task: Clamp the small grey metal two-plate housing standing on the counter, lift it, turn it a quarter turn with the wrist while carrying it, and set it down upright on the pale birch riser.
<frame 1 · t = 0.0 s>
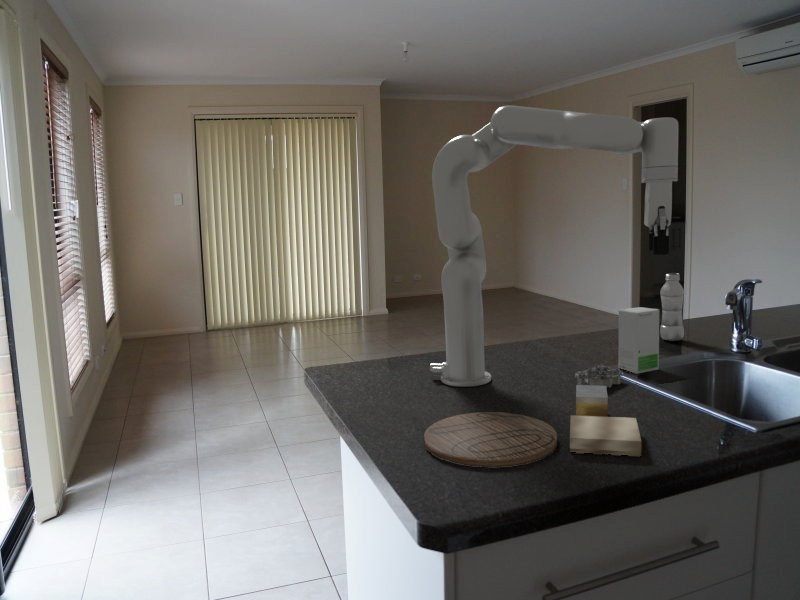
hand: (658, 252, 150), 31 cm above the countertop, tool pointing down, fingers open, 9 cm apart
trivet: (490, 444, 126), on the countertop
plastic bottle: (671, 341, 197), on the countertop
egg carton: (598, 385, 158), on the countertop
skincare box: (638, 370, 169), on the countertop
housing: (591, 419, 135), on the countertop
riser: (603, 443, 122), on the countertop
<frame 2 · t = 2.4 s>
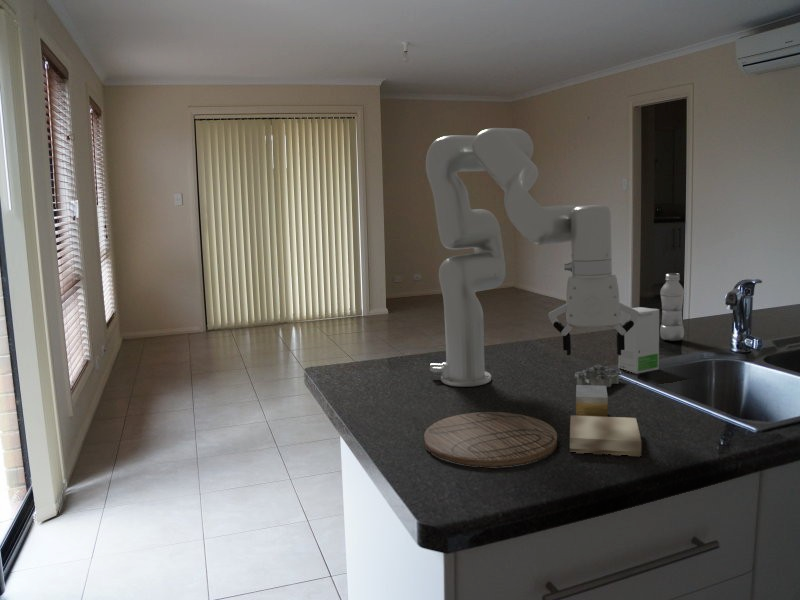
hand: (593, 353, 132), 14 cm above the countertop, tool pointing down, fingers open, 9 cm apart
nothing on the countertop moved.
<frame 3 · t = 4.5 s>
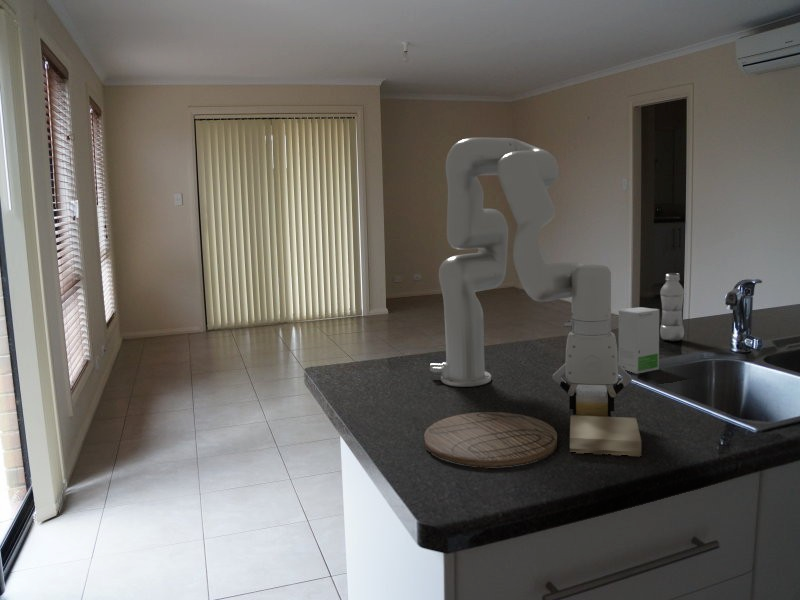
hand: (591, 412, 135), 1 cm above the countertop, tool pointing down, fingers closed on housing, 6 cm apart
housing: (591, 418, 135), on the countertop, touching gripper
everything else where it was.
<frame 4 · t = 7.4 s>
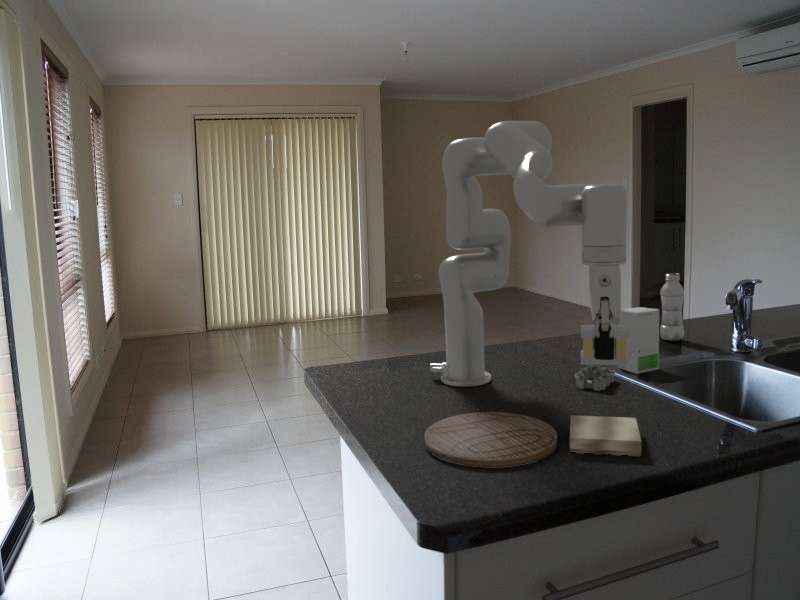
hand: (603, 353, 120), 17 cm above the countertop, tool pointing down, fingers closed on housing, 6 cm apart
housing: (603, 360, 120), point 16 cm above the countertop, touching gripper
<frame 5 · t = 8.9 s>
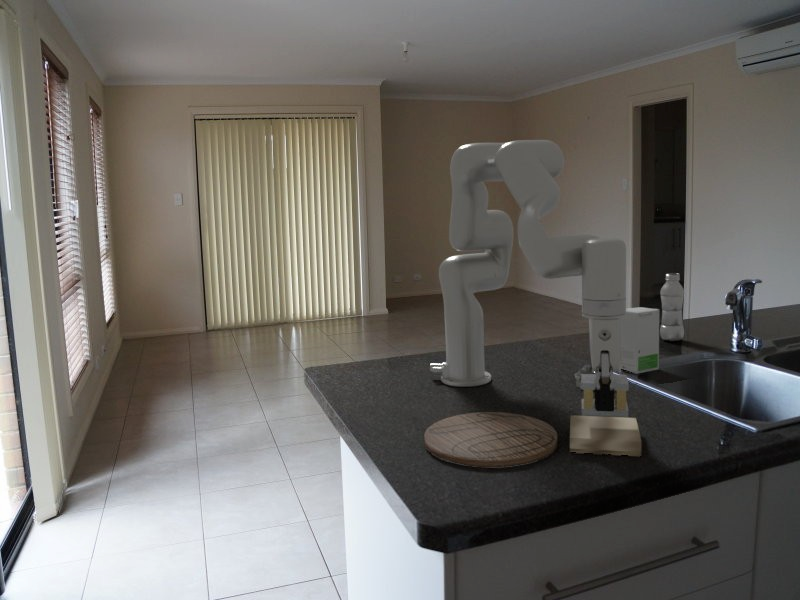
hand: (604, 403, 121), 8 cm above the countertop, tool pointing down, fingers closed on housing, 6 cm apart
housing: (604, 410, 121), point 6 cm above the countertop, touching gripper
when the fingers open (5 cm above the countertop, at t = 10.3 s): housing stays where it is, resting on riser.
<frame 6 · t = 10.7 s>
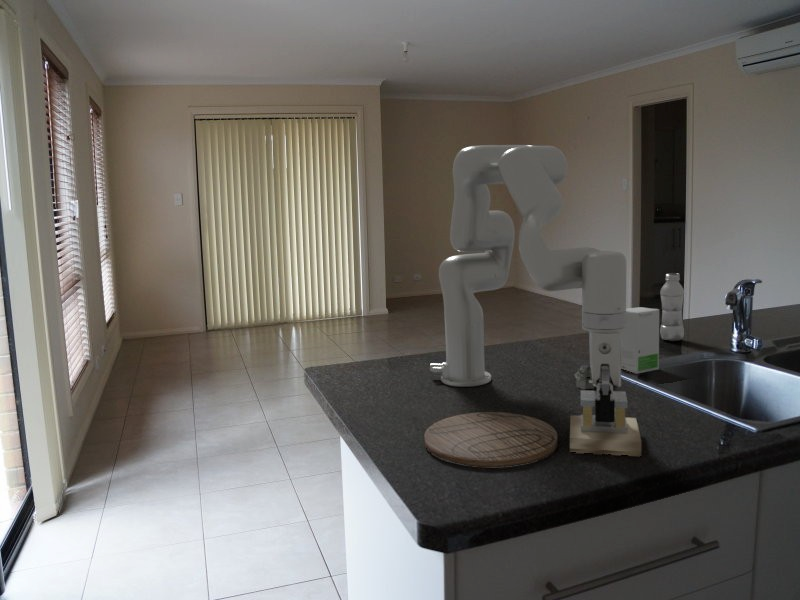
hand: (603, 412, 121), 6 cm above the countertop, tool pointing down, fingers open, 9 cm apart
housing: (603, 427, 122), point 3 cm above the countertop, touching riser
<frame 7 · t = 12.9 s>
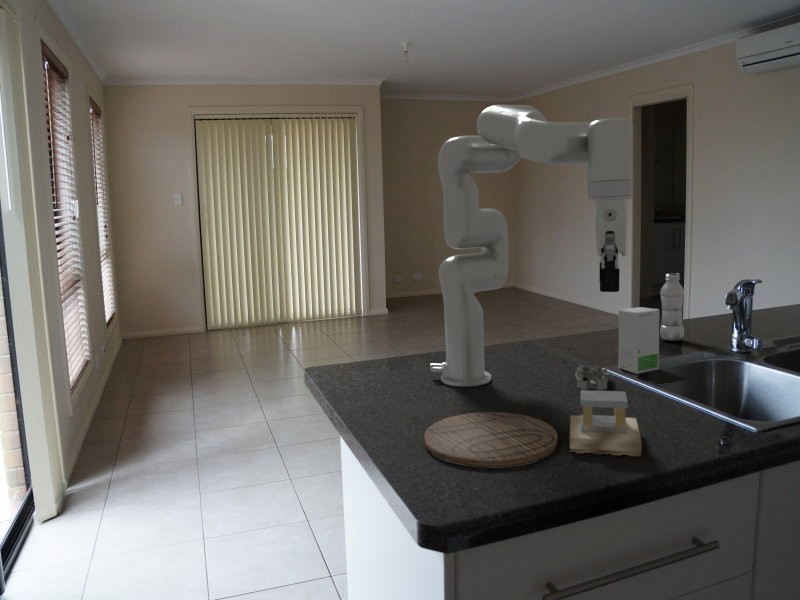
hand: (608, 287, 120), 29 cm above the countertop, tool pointing down, fingers open, 9 cm apart
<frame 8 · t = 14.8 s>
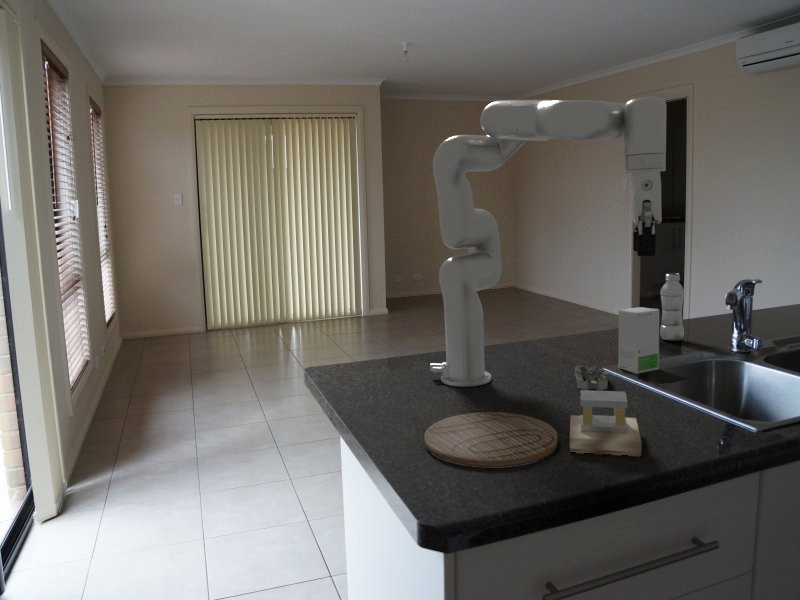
hand: (643, 253, 130), 33 cm above the countertop, tool pointing down, fingers open, 9 cm apart
at the end: housing inside the target area on the riser (0.2 cm from its centre), point 3.0 cm above the riser's base; housing tilted 0°; the gripper is holding nothing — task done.
